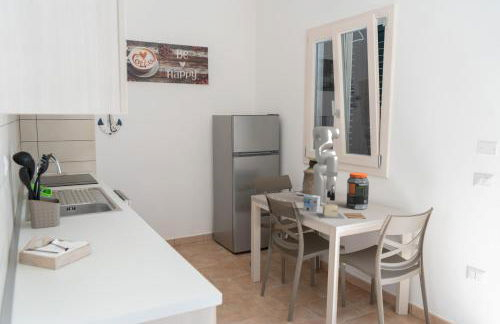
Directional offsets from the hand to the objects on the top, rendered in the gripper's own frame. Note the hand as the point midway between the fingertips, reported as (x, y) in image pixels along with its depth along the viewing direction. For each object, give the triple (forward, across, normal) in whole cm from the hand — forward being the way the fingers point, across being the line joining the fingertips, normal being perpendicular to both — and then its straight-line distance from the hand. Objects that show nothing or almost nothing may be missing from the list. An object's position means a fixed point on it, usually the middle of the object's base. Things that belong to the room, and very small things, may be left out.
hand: (330, 199), depth 264 cm
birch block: (+12, 0, 0) cm, 12 cm away
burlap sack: (+11, -74, +1) cm, 75 cm away
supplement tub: (+12, -26, +26) cm, 39 cm away
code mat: (+12, 0, 0) cm, 12 cm away
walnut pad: (+12, 0, +17) cm, 21 cm away
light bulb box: (+12, -16, -10) cm, 23 cm away
